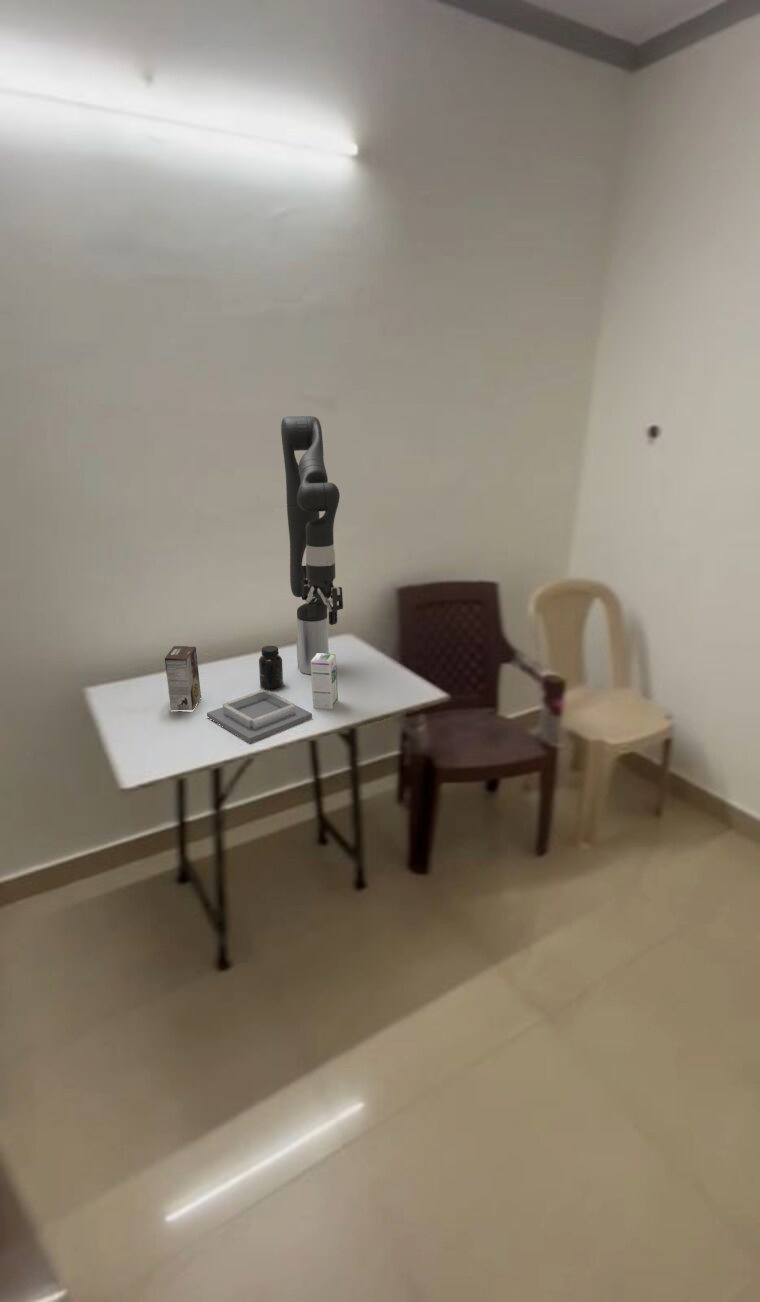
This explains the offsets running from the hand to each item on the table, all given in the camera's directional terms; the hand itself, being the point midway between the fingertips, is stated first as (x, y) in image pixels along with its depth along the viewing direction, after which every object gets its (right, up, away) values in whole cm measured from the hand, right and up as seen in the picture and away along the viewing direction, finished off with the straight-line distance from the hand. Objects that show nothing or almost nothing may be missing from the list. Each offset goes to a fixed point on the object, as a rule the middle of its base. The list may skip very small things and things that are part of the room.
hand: (322, 620), depth 194 cm
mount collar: (-17, -25, +1) cm, 30 cm away
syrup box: (0, -23, +9) cm, 25 cm away
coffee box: (-39, -24, +9) cm, 46 cm away
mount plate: (-17, -26, +2) cm, 31 cm away
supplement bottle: (-17, -19, +21) cm, 33 cm away
